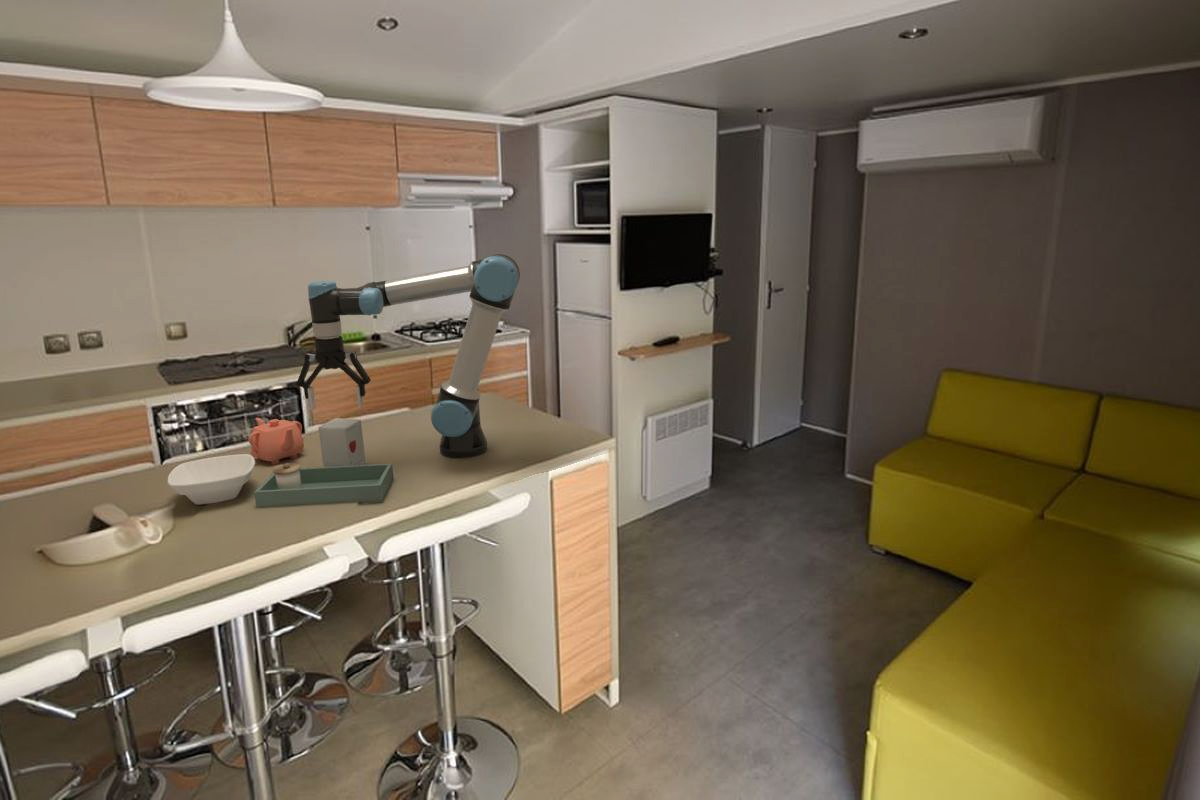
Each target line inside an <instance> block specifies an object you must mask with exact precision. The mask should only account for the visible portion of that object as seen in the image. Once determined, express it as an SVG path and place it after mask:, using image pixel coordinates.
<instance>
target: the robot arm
mask: <svg viewBox="0 0 1200 800" xmlns="http://www.w3.org/2000/svg"><path fill="white" fill-rule="evenodd" d="M520 278H521V273H520V268H519V265H518V263H517V262H516V260H515V259H513V258H511V256H508V255H506V254H503V253H502V254H501V253H500V254H499V253H498V254H493V255H490V256H488V257H485V258H483V259H478V260H474V261H471V262H470V263H469V265H465V266H461V267H459V266H458V267H455V268H454V267H453V268H448V269H443V270H437V271H431V272H427V273H421V274H415V275H411V276H410V275H409V276H408V275H407V276H403V277H398V278H392V279H387V280H382V281H371V282H367V283H366V284H364V285H362V286H361V285H360V286H359V287H354V288H353V287H352V288H349V287H348V288H347V287H346V288H340V287H338V286H337V283H336V282H335V281H334V280H333V281H332V280H319V281H317V280H316V281H312V282H310V283H309V284H307V292H308V293H307V294H308V299H307V300H308V302H309V309H310V316H311V323H312V324H311V326H312V333H313V336H314V339H313V341H314V347H315V349H314V350H315V354H313V353H311V352H307V353H306V354H304V362H303V366H302V368H301V371H300V373H299V376H298V378H297V381H296V383H295V384H296V387H300V388H301V387H302V389H303V392H304V397H305V399H306V400H307V399H308V403H309V410H310V411H314V410H315V409H316V408H317V406H316V399H315V398H316V397H315V391H314V386H311V384H312V383H313V382H314V381H315V380H316V378H317V376H318V375H319V374H320V372H321V371H322V370H323V369H325V370H331V369H333V370H337V369H340V370H341V371H343V372H344V373H345V374H347V376H348V377H349V378H350V379H352V380H353V381H354V383H356V384H357V385H356V386H355V388H356V389H355V390H356V397H357V406H358V409H362V408H363V407H364V399H363V397H365V396H366V394H367V393H366V388H365V387H366V385H368V384H370V382H371V377H370V376H369V374H368V373H367V371H366V370H365V368H364V367H363V365H362V363H361V362H360V361H359V360H358V356H357V353H356V351H352V352H347V353H346V352H345V349H344V348H345V346H344V338H343V336H342V334H343V331H342V323H341V321H342V320H341V316H372V315H373V316H375V315H379V314H380V315H381V313H382V312H383V310H384V309H383V308H385V307H391V306H395V305H401V304H408V303H414V302H419V301H423V300H429V299H430V300H431V299H435V298H441V297H448V296H452V295H459V294H463V293H469V292H470V293H469V296H468V297H469V299H470V301H471V302H472V304H471V308H470V312H469V314H468V319H467V321H466V325H465V328H464V331H463V335H462V337H461V340H460V343H459V346H458V347H459V348H458V350H457V352H456V355H455V360H454V362H453V366H452V369H451V373H450V375H449V378H448V380H446V381H443V382H441V383H440V385H439V386H440V387H439V392H438V396H437V399H436V403H435V404H434V406H433V407H432V410H431V412H430V413H431V414H430V415H431V416H430V419H431V423H432V426H433V428H434V429H435V430H436V432H438V433H439V434H441V435H442V436H441V439H440V443H439V453H440V455H441V456H442V457H446V458H451V459H466V458H473V457H476V456H479V455H482V454H484V453H485V452H487V451H488V448H489V447H488V441H487V437H486V436H485V432H484V430H483V428H482V426H481V425H482V424H481V414H480V413H481V412H480V411H481V409H480V398H481V394H480V392H479V391H480V389H479V384H480V382H481V379H482V376H483V373H484V371H485V370H484V369H485V367H486V363H487V360H488V358H489V354H490V351H491V348H492V346H493V342H494V339H495V335H496V333H497V330H498V327H499V323H500V321H501V318H502V314H503V313H505V312H507V311H509V310H510V307H511V305H512V301H513V299H514V295H515V292H516V289H517V287H518V284H519V281H520ZM346 359H347V360H349V361H350V362H351V363H352V365H353V367H354V368H355V370H356V371H357V372H356V371H354V370H353V369H352V368H351V367H350V366H349V365H348V363H347V362H346V361H345V360H346ZM314 360H315V361H317V363H318V365H317V366H316V367H315V368H314V371H313V372H312V373H311V374H310V376H309V377H308V378H307V379H306V377H307V374H308V372H309V369H310V367H311V364H312V362H314ZM357 373H358V374H359V375H358V374H357ZM305 380H306V381H305Z"/></svg>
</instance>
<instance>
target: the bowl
mask: <svg viewBox="0 0 1200 800" xmlns="http://www.w3.org/2000/svg"><path fill="white" fill-rule="evenodd" d="M255 465H256V460H255V458H254V456H252V455H251V453H250V454H248V453H245V454H244V453H243V454H241V453H239V454H228V455H221V456H213V457H207V458H201V459H196V460H191V461H186V462H182V463H180V464H178V465H177V466H175V467H174V468H173V469H172V470H171V471H170V472H169V475H168V476H167V485H168V486H169V487H170V488H171V489H172V490H173V491H174V492H175V493H177V494H178V495H180V496H182V495H183V496H186V497H187V498H188V499H189V500H190V501H191V502H192V503H194V504H195V505H207V504H215V503H221V502H225V501H229V500H234V499H236V498H237V497H238V496H239V494H240V493H241V490H242V488H243V485H245V484H246V483H248V481H249V480H250V478H251V477H252V476H251V475H252V473H253V471H254V468H255Z"/></svg>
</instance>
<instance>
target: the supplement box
mask: <svg viewBox="0 0 1200 800" xmlns="http://www.w3.org/2000/svg"><path fill="white" fill-rule="evenodd" d="M317 427H318V428H317V429H318V433H319V434H318V435H319V441H320V443H319V444H320V451H321V459H322V467H334V466H353V465H367V462H366V461H367V459H366V454H365V444H364V437H363V435H364V434H363V428H362V420H361V419H359V418H358V419H357V418H337V417H336V418H333V419H331V420H329V421H327V422H325V423H323V424H321V425H319V426H317Z"/></svg>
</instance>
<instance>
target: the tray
mask: <svg viewBox="0 0 1200 800" xmlns="http://www.w3.org/2000/svg"><path fill="white" fill-rule="evenodd" d="M393 469H394V468H393V463H391V462H390V463H372V464H364V465H353V466H334V467H323V466H319V467H316V466H315V467H303V468H302V467H301V468H300V470H299V471H300V478H301V484H302V488H296V489H277V483H276V476H275V474H274V473H273V472H272V473H271V474H270V475H269V476H268V478H266V480H264V481H263V482H262V484H260V485H259V486H258V488H256V489H255V491H253V495H254V502H255V507H256V508H269V507H285V506H287V507H288V506H302V505H303V506H304V505H318V504H319V505H321V504H337V503H354V502H357V505H361V504H362V505H365V504H364V503H368V504H379V503H383V502H384V500H385V498H386V496H387V494H388V491H389V490H390V488H391V486H392V484H393V482H394V480H395V477H394V470H393Z"/></svg>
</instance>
